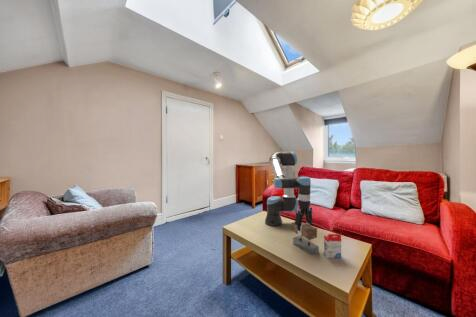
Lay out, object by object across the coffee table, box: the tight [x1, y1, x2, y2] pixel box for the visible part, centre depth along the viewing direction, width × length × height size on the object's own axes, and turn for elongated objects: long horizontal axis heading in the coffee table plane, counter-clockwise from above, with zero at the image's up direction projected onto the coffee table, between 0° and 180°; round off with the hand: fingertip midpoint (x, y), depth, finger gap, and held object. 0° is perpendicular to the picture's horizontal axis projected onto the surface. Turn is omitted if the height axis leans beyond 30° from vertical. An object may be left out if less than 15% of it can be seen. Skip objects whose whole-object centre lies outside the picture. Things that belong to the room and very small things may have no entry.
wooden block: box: [291, 221, 318, 241], centre depth 121 cm, size 15×7×6 cm, turn 30°
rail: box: [292, 235, 320, 256], centre depth 120 cm, size 16×6×8 cm, turn 30°
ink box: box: [323, 233, 342, 259], centre depth 111 cm, size 8×5×15 cm, turn 92°
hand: (303, 233), depth 121 cm, fingers closed on wooden block, 7 cm apart
